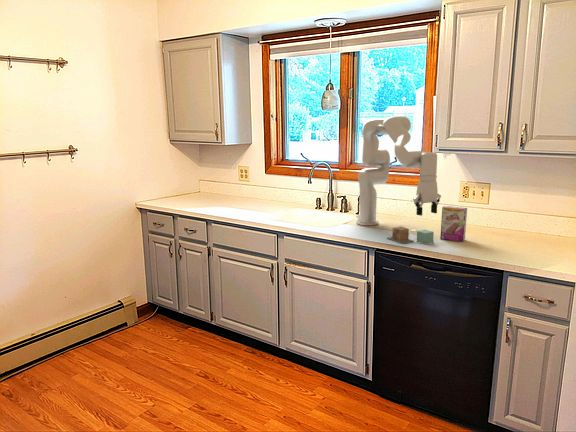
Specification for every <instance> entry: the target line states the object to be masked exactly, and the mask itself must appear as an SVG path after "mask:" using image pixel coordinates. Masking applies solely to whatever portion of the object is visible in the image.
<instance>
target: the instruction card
mask: <svg viewBox="0 0 576 432" xmlns="http://www.w3.org/2000/svg"><path fill="white" fill-rule="evenodd" d="M407 228H408V227H407ZM408 229H409V232H417V231H418V230H417V229H413V228H408Z"/></svg>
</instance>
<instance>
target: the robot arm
mask: <svg viewBox="0 0 576 432" xmlns="http://www.w3.org/2000/svg"><path fill="white" fill-rule="evenodd" d="M411 123H412V122H411V120H410V119H409V118H408V117H406V116H402V115H401V116H399V115H398V116H390V117H387V118H379V117H378V118H370V119H367V120H366V121H365V122H364V124H363V126H362V137H363V142H362V143H363V144H362V156H361V157H362V158H361V159H362V164H363V166H366V167H367V168H363V169H361V170H360V171H359V172H358V174H357V179H358V185H359V209H358V213H359V214H356V215H355V217H356V218H357V220H356V225H360V226H378V225H379V220H377V199H378V198H377V197H378V196H377V190H376V188H375V187H374V186H377V185H378V186H379V185H384V184H386V183H387V182H388V180H389V174H390V173H389V172H390V164H391V156H390V155H391V154H390V152H389V151H388V149H386V148H379V146H380V145H379V144H380V140H379V138H378V136H377V135H388V136H389V138H390V139H391V140H392V141H393V143H394V155H395V157H396V159H397V161H398V162H399V163H400V164H401V165H402V167H405V168H417V167H418V168H419V167H420V168H419V181H418V182H417V186H416V193H415V194H416V195H415V196H414V197H413V199H412V201H413V204H414V206H415V207H416V212H415V214H416V215H417V216H420V217H421V216H423V205H424V204H427V203H428V204H429V203H431V205H430V213H433V214H437V213H438V205H439V203H440V200H441V198H442V195H441V194H439V193H438V191H439V189H438V182H437V178H438V176H437V170H438V154H437V153H436V152H434V151H428V152H427V151H425V150H417V151H415V150H414V151H413V150H411V151H408V149H406V147H405V146H406V145H407V144H409V142H410V140H411V138H412V137H411V134H410V129H411V128H412V127H411V126H412V125H411ZM368 167H369V168H368Z"/></svg>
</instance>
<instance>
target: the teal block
mask: <svg viewBox="0 0 576 432" xmlns="http://www.w3.org/2000/svg"><path fill="white" fill-rule="evenodd" d="M416 243H420V244H423V245H428V244H432V243H434V231H432V230H428V229H420V230H417V231H416Z"/></svg>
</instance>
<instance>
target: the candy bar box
mask: <svg viewBox="0 0 576 432" xmlns="http://www.w3.org/2000/svg"><path fill="white" fill-rule="evenodd" d="M467 217H468V207H463V206H462V207H461V206H451V205H444V206H442V208H441V221H440V222H441V224H440V237H439V239H440V240H446V241H453V242H454V241H455V242H461V243H463V242H464V241H465V240H466V232H467V231H466V230H467V229H466V228H467Z"/></svg>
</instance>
